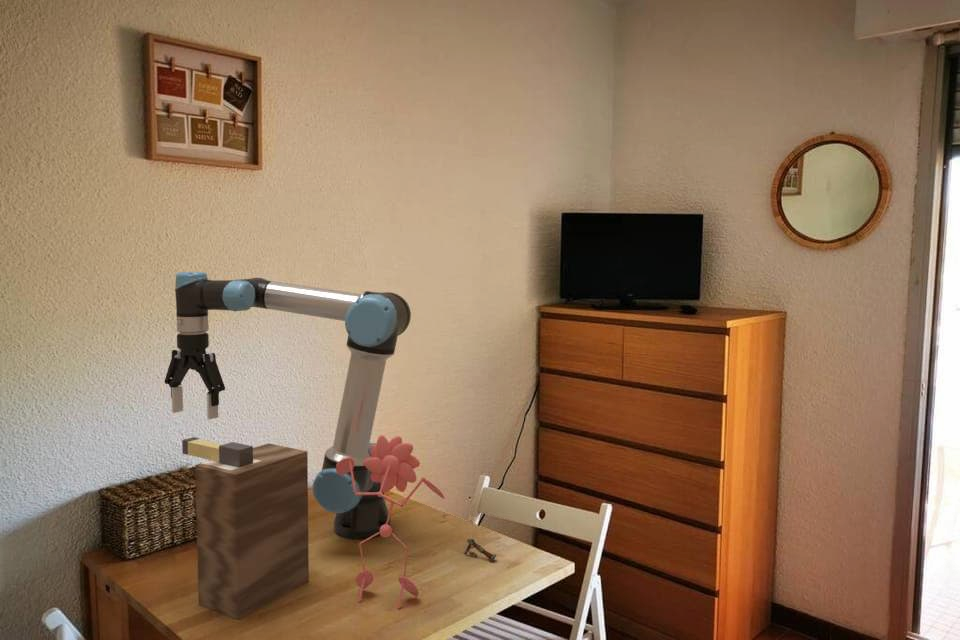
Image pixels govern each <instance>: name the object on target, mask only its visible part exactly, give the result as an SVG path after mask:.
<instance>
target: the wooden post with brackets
mask: <svg viewBox="0 0 960 640" xmlns="http://www.w3.org/2000/svg"><path fill="white" fill-rule="evenodd" d="M466 541H467V544H468V546H467V547H466V549H465V551H464V553H463V554H464V555H467V554H468V553H469V555H470V557H472V556H473V557H479V556H478V555H477V553H476V552H475V551H470V550H471V549H473V548H475V550H476V551H478V552H479V553H480V554H482V555H484V556H485V557H486V558H487V559H488V560H489V563H492V561H493V560H492V559H494V560H495V558H496V556H497V553H495V554H493V553H491V552H489V551H487V550H486V549H485V548H484V547H482V546H481V545H480V544H478V543H476V541H475V539H473V538H467V539H466ZM473 557H472V558H473Z"/></svg>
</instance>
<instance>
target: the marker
mask: <svg viewBox="0 0 960 640" xmlns="http://www.w3.org/2000/svg"><path fill="white" fill-rule="evenodd" d="M181 443H182V445H181V447H182V449H181V450H182V455H187V456H192V457H195V458H196V457H197V458H201V459H205V460H207V461H210V460H213V461H217V462H219V463H222V464H226V465H230V466H235V467H239V468H240V467H243V466H246V465H249V464H252V463H253V448H254V446H252V445H248V444H245V443H239V442H238V443H237V442H234V441H232V442H228V443H225V444H224V443H223V444H222V443H218V442H214V441H210V440H205V439H200V437H195V436H193V437H189V438H185V439H182V440H181Z"/></svg>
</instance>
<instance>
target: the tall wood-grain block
mask: <svg viewBox="0 0 960 640" xmlns="http://www.w3.org/2000/svg"><path fill="white" fill-rule="evenodd" d="M308 456H309V455H308V451H307V450H302V449H299V448H298V449H297V448H292V447H288V446H283V445H277V444H274V443H266V444H262V445H259V446H255V447H253V463H252V464H249V465H246V466H243V467H240V468H239V467H235V466H230V465H226V464H222V463H219V462H217V461H213V460H207V461H203V462H200V463H198V464H195V465H194V466H195V467H194V471H195V476H194V477H195V507H196V508H195V509H196V512H195V513H196V514H195V516H196V544H197V545H196V549H197V551H196V552H197V556H196V557H197V586H198V587H197V589H198V592H197V593H198V597H197V598H198V605H199V606H202V607H203V608H207V609H210V610H211V611H215V612H217V613H220V614H223V615H225V616H227V617H231V618H233V619H236V620H241V619H242V618H244V617H246V616H248V615H249V614H251V613H253V612H255V611H257V610H259V609H261V608H263V607H264V606H266V605H268V604H270V603H272V602H274V601H276V600H277V599H280V598H282V597H284V596H285V595H287V594H289V593H290V592H292V591H294V590H296V589H297V588H300V587H301V586H304V585H305V584H307V583H309V581H310V580H309V579H310V576H309V575H310V574H309V573H310V572H309V569H310V568H309V567H310V566H309V486H308V485H309V484H308V483H309V481H308V479H309V477H308V476H309V474H308V473H309V472H308V471H309V470H308Z"/></svg>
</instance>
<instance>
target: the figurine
mask: <svg viewBox="0 0 960 640" xmlns="http://www.w3.org/2000/svg"><path fill="white" fill-rule="evenodd" d="M402 439H403V438H402V437H401V436H400V435H398V436H397V435H396V436H394V437H393V438H392V439H390V440H388V439H387V437H386V436H385V435H383V434H382V435H379V437H378V438H377V440H376V444H377V445H371V446H370V454H371V456H372V458H368V459H366V460H364V465H365V467H366V468H367V469H368V470H370V471H371V472H372V473H371V476H370V478H371V481H373V482H381V484H380V487H381V489H380V492H373V493H356V486H355V480H354V474H353V468H354V466H355V464H354V460H353V459H352V458H351V457H348V458H343V459H342V460H340V461H339V462H338V463H337V465H336V471H337V473H338V475H339V476H341V475H344V474H346V473H349V472H351V478H352V484H353V490H354V493H355V495H377V496H378V497H383V498H384V499H385V501H386V500H387V501H388V502H389V503H390V507H389V509H388V512H389V514H388V518H387V522H386V524H385V525H382V526H381V528H380V530H379V532H378V533H376V534H374V535H373V536H371V537H369V538H365V539H364V540H362V541H361V542H359V551H360V557H361V563H362V568H363V571H362V570H361V571H360V572H358V574H357V575H356V577H355V584H356V585H357V586H358V587H359V588H360V591H359V596H358V603H359V602H360V603H361V602H362V598H363V592H364V590H365V589H367V588H368V587H369V586H371V584H372V583H373V581H374V578H376V577H377V578H378V577H379V575H373V573H372V572H371V571H370V570H366V566H365V561H364V555H363V549H362V544H363V543H365V542H367V541H369V540H371V539H372V538H375V537H374V536H376V535H378V534H380V535H379V536H381V537H382V538H389V537H391V535H392V536H393V537H394V538H395V539H396V540H397V541H398V542H399V543H400V545H402V546H403V547H404V549H405V556H404V568H403V569H404V571H403V575H400V574H399V575H397V576H398V578H397V581H398V583H399V584H400V591H399V596H398V601H397V609H401V604H402V597H403V592H404V590H405V591H406V592H408V593H410V595H413V596H414V597H416V598H418V596H419V588H418V587H417V585H415V583H413V581H417V582H419V583H422V584H423V582H422V581H420V580H418V579H414V578H411V577H407V576H406V574H407V563H408V552H409V551H408V550H409V549H408V547H407V546H406V545H405V544H404V543H403V542H402V540H401V539H400V538H398V537H397V535H396V534H395V533H393V529H392V526H391V527H390V526H389V525H388V521H389V518H391V514H392V511H393V508H394V505H397V506H399V507H401V508H403V506H404V505H405V504H406V503H407V502H408V500H409V499H410V498H411V497H412V495H413V494H414V493H415V492H416V491H417V489H418V488H419V487H420V486H421V485H422V484H423V483H424V484H425V486H427V488H429V489H430V490H431V491H432V492H433V493H435V495H437V496H438V497H440V498H441V499H443V500H445V495H444V493H443V492H442V491H441V490H440V489H439V488H438V487H437V486H436V485H435V484H433V483H432V482H431V481H429V479H427V478H426V477H425V476H422V477H421V478H420V480H419V481H418V483H417V484H416V485H415V486H414V487H413V489H412V490H411V491H410V492H409V494H408V495H407V496H406V497H405V498H404V500H403V501H402V503H400V502H399V501H397V500H395V499H393V498H391V497H389V496H387V495H386V494H384V495H383V494H382V491H383V492H384V493H388V492H389V491H391V490H393V488H394V487H395V489H396V490H397V491H398V492H400V493H401V492H402V493H404V492H406V489H407V486H408V483H411V484H412V483H413V484H414V483H416V482H417V475H416V472H415V470H414V469H416V468H417V469H418V467H420V465H421V462H420V460H419V459H418V458H417V457H416V456H414V455H412V453H413V452H414V446H413V444H412V443H410V442H403V440H402ZM376 537H377V536H376ZM412 580H413V581H412ZM426 612H428V610H426V611H424V612H423V613H422V614H424V613H426Z"/></svg>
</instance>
